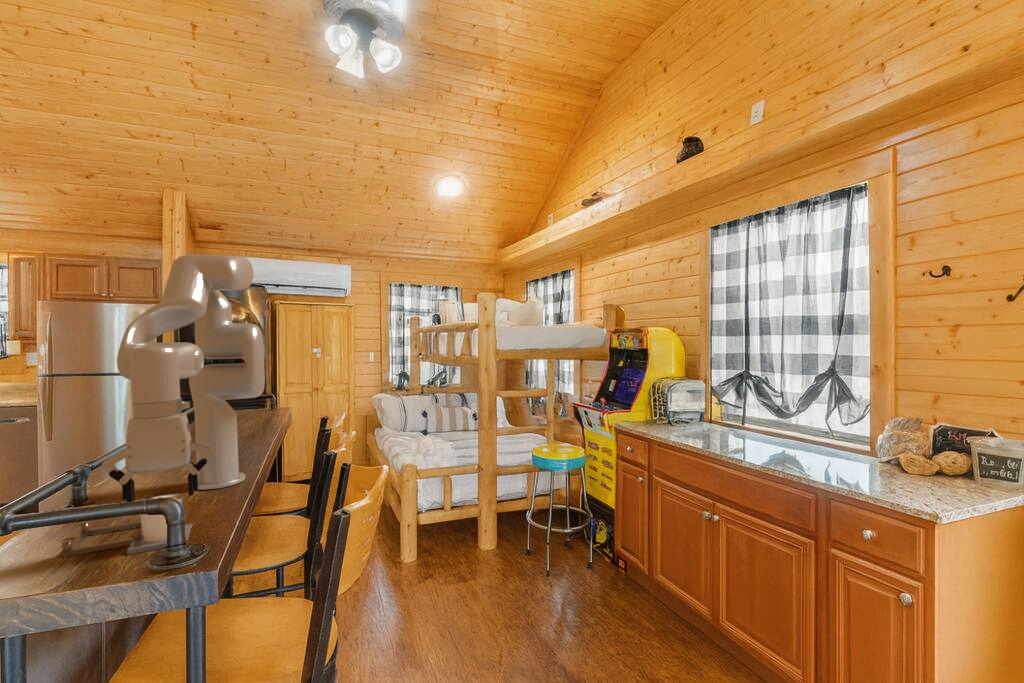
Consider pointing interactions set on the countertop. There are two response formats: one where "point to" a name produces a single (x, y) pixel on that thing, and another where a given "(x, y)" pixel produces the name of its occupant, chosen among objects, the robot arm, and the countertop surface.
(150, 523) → the shot glass
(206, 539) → the countertop surface
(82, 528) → the brown square frame
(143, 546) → the coaster
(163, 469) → the robot arm
